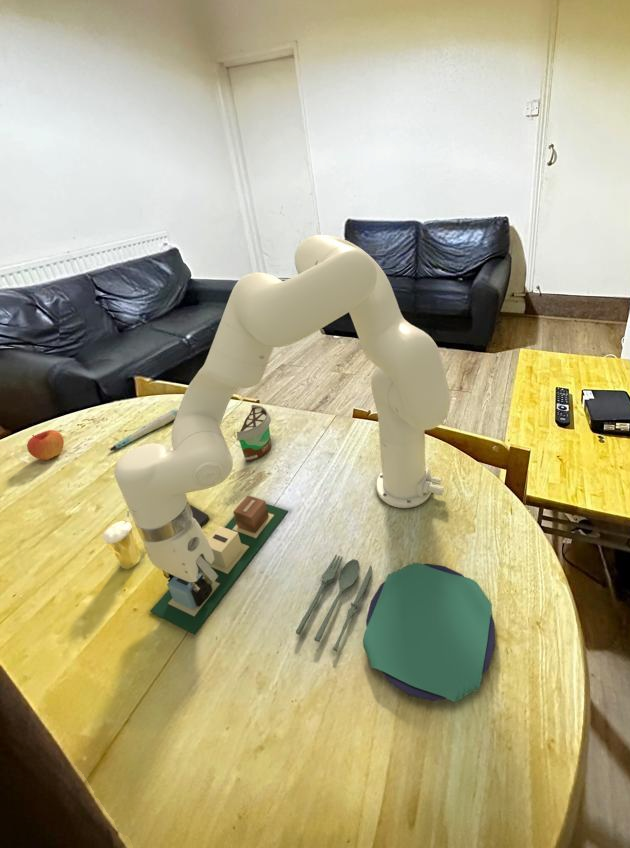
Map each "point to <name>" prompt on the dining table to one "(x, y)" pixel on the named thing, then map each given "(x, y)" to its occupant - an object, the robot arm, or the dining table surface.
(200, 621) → the word mat
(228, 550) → the letter block
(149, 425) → the pen
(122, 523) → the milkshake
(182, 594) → the light blue block
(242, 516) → the letter block
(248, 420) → the food container
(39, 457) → the apple
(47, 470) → the dining table surface
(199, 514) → the black smartphone
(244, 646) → the dining table surface
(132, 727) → the dining table surface
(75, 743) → the dining table surface
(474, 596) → the cutlery set
